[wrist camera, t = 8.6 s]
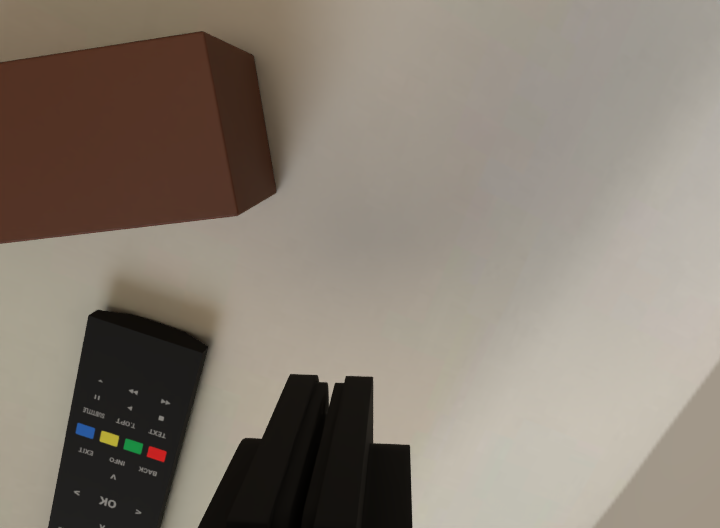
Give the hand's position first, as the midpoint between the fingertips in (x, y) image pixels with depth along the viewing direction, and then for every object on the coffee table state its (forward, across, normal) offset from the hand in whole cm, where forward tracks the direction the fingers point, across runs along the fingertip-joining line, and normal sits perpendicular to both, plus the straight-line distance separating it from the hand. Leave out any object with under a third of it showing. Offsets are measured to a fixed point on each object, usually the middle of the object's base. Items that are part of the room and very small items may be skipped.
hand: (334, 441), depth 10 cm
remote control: (+13, +14, +14) cm, 24 cm away
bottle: (+10, +4, -6) cm, 12 cm away
